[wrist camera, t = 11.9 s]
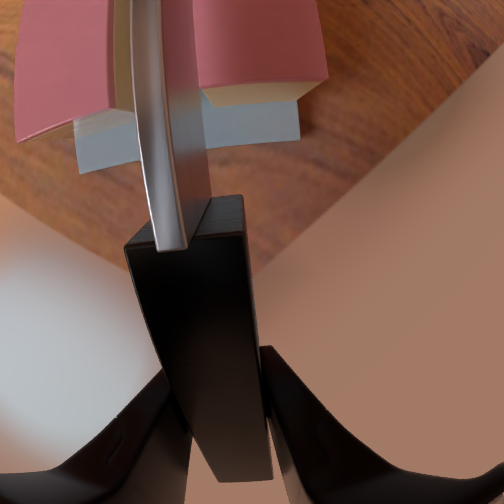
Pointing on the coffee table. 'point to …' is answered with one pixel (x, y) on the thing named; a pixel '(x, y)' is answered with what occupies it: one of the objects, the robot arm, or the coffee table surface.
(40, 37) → the cake plate
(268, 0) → the cake slice
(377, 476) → the robot arm
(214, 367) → the knife
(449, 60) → the coffee table surface
